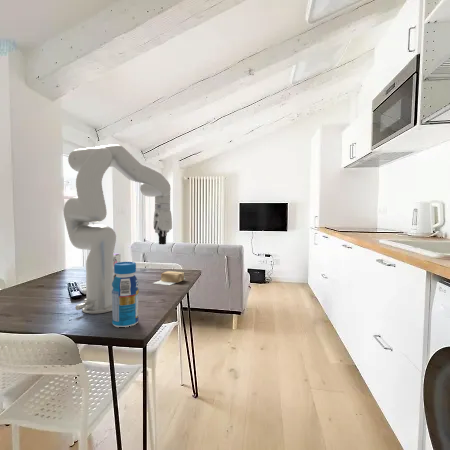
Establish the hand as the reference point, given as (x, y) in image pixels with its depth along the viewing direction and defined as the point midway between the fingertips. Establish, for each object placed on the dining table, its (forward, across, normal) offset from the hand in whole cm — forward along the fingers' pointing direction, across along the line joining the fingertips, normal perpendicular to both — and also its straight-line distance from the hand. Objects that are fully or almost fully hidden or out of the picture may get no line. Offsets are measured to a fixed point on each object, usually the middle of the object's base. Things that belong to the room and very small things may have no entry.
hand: (162, 244), depth 147 cm
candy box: (+21, -18, +18) cm, 33 cm away
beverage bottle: (+21, -48, -19) cm, 55 cm away
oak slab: (+18, +6, 0) cm, 19 cm away
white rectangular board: (+20, +8, +1) cm, 22 cm away
